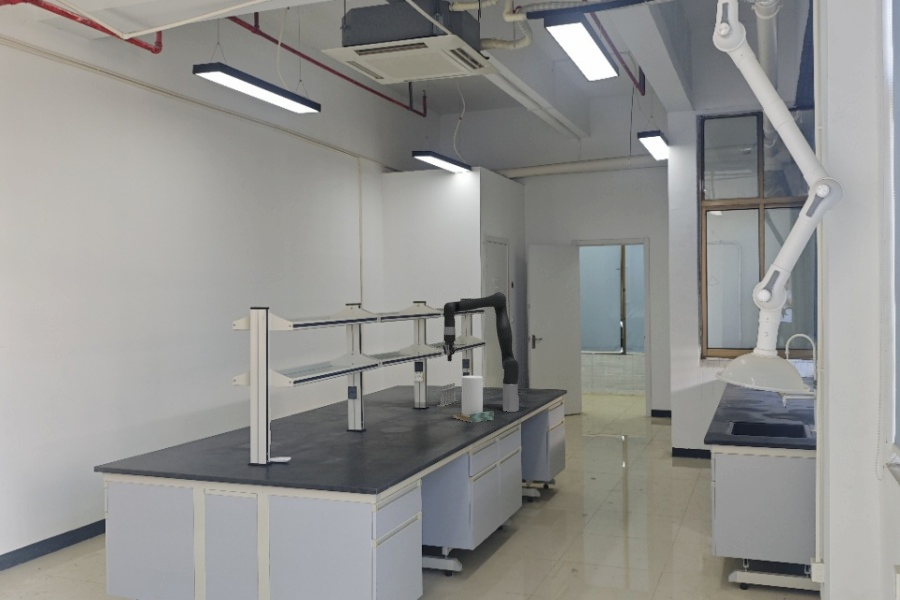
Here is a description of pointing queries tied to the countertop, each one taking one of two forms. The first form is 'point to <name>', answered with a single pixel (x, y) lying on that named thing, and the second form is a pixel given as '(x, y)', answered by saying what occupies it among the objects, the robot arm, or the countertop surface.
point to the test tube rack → (447, 394)
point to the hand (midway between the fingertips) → (449, 361)
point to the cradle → (476, 417)
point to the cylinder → (472, 395)
